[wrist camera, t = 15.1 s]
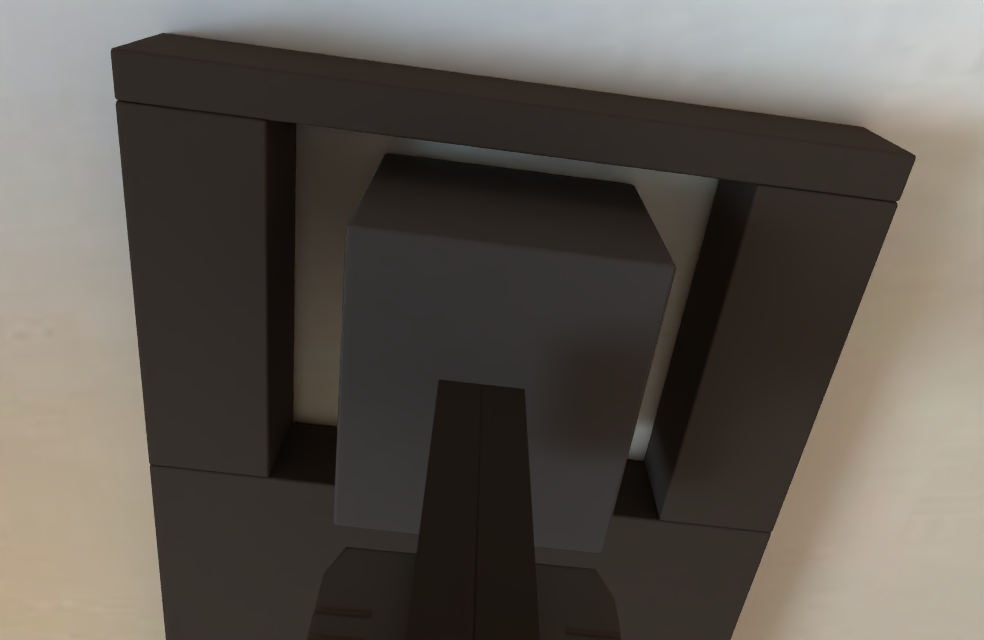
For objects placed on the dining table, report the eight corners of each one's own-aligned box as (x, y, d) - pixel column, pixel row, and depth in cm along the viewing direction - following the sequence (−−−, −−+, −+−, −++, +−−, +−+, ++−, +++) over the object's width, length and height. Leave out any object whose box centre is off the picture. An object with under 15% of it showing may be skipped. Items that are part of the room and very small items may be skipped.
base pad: (653, 737, 28) (666, 808, 25) (203, 694, 27) (176, 763, 25) (866, 127, 18) (918, 155, 15) (160, 31, 17) (108, 47, 15)
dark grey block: (384, 151, 18) (345, 225, 14) (635, 184, 18) (677, 266, 14) (368, 401, 21) (332, 526, 17) (582, 425, 21) (603, 555, 17)
